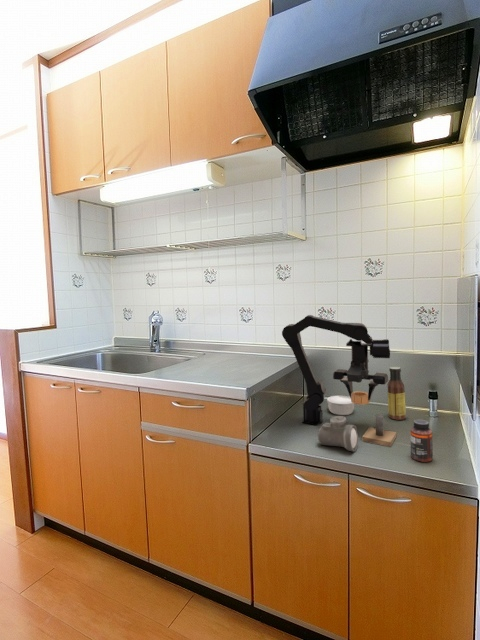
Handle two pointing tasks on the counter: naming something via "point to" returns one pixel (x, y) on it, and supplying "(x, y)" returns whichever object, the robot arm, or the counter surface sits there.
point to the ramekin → (340, 405)
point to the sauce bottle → (396, 395)
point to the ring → (359, 398)
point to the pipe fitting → (338, 434)
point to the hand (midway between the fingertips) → (360, 399)
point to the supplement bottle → (421, 441)
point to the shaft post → (379, 434)
